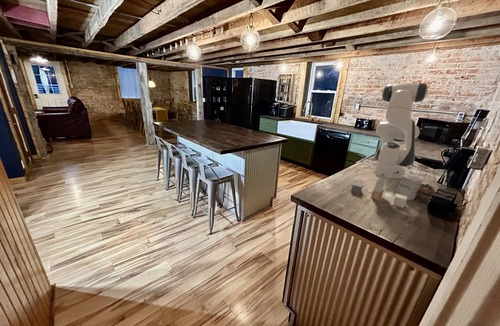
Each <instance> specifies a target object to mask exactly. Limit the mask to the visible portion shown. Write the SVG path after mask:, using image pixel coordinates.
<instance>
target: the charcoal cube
mask: <svg viewBox="0 0 500 326" xmlns="http://www.w3.org/2000/svg"><path fill="white" fill-rule="evenodd" d="M363 186H364V184H363V183H359V182H356V181H354V182H353V184H352V186H351V190H350V192H351V193H353V194H357V195H359V196H360V195H361V193H362V189H363Z"/></svg>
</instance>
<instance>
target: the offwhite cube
mask: <svg viewBox="0 0 500 326" xmlns="http://www.w3.org/2000/svg"><path fill="white" fill-rule="evenodd" d="M406 203H407V196H403V195H400V194H396V193H395V195H394V199H393V203H392V205H394V206H397V207H399V208H403V209H404V208H405V206H406Z"/></svg>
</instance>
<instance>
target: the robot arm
mask: <svg viewBox="0 0 500 326" xmlns="http://www.w3.org/2000/svg"><path fill="white" fill-rule="evenodd" d="M428 93H429V88H428V84H426V83H423V82H419V83H416V82H402V83H395V84H393V83H390V84H387V85H386V86H384V87H383V90H382V92H381V98H382V100H383V102H387V103H388V105H387V108H386V112H385V120H386V121H380V122H379V123H378V124H377V125H376V127H375V132H376V134H377V135H378V136H379V138H380V139H381V143H382V145H381V146H379V147H377V148H376V152H375V155H374V159H376V161H377V163H376V164H375V167H374V169H373V170H372V173H374V174H375V177H376V178H377V180H376V182H375V185H374V187H373V189H374V191H375V197H378V196H379V193H381V192H382V190H384V186H385V183H386V180H389V179H401V178H402V176H407V175H408V174H405V173H406V170H405V168H406V167H410V166H411V165H413V164H414V162H415V159H416V156H415V155H416V154H415V141H416V140H415V139H417V138H418V137H419V136H420V127H419V126H417V125H416V123H415V121H414V119H412V117H411V115H412V108H413V104H414V103H419V102H422V101H424V100H425V99H426V97H427V95H428ZM394 139H396V140H403V141H404V148H402V147H401V146H400V145H399V144H398V143H397V142H395V141H394Z"/></svg>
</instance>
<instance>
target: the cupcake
mask: <svg viewBox="0 0 500 326" xmlns="http://www.w3.org/2000/svg"><path fill="white" fill-rule="evenodd" d="M434 193H435V194H436V187H434V186H431V185H430V184H429V183H426V184H425V183H421V186H420V188H419V190H418V191H417V194H416V197H415V199H414V200H415V201H417V202H420V203H423V204H429V203H428V202H429V200H430V199H431V197H432V195H433V194H434Z"/></svg>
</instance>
